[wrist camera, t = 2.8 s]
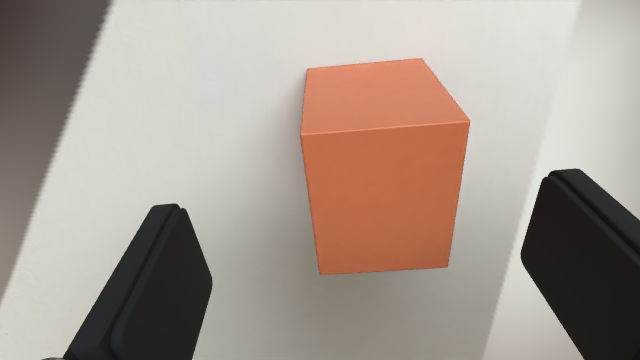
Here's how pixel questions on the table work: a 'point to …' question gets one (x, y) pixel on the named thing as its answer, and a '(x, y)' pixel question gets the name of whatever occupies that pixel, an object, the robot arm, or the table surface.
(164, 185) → the table surface
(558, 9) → the table surface
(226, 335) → the table surface
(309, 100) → the terracotta orange cube
